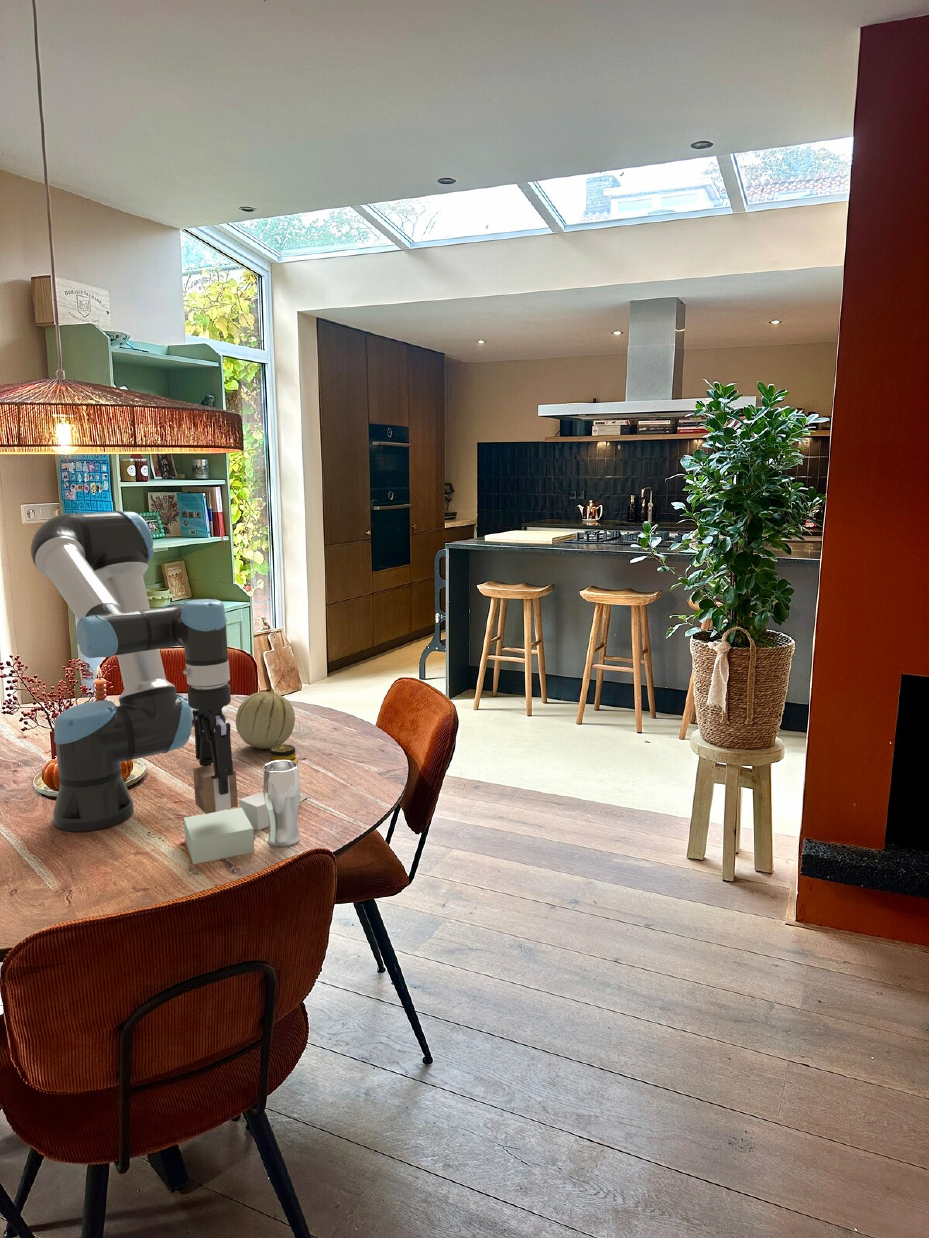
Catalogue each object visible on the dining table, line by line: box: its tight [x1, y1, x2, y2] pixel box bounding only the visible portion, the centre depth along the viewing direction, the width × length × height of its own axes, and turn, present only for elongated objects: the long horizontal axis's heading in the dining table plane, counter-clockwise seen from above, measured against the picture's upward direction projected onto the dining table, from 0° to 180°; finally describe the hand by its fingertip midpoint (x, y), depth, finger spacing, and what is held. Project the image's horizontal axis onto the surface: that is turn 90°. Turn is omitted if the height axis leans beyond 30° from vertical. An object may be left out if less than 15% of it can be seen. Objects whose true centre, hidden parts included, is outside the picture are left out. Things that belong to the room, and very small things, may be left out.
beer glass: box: [262, 760, 301, 848], centre depth 161 cm, size 7×7×15 cm
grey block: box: [239, 790, 270, 831], centre depth 171 cm, size 6×6×5 cm
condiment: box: [268, 744, 309, 803], centre depth 181 cm, size 7×8×12 cm
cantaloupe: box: [235, 688, 296, 750], centre depth 215 cm, size 15×15×15 cm
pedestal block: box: [183, 807, 255, 865], centre depth 159 cm, size 11×11×5 cm
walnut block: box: [192, 764, 239, 814], centre depth 158 cm, size 6×6×7 cm
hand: (216, 803), depth 158 cm, fingers closed on walnut block, 6 cm apart
